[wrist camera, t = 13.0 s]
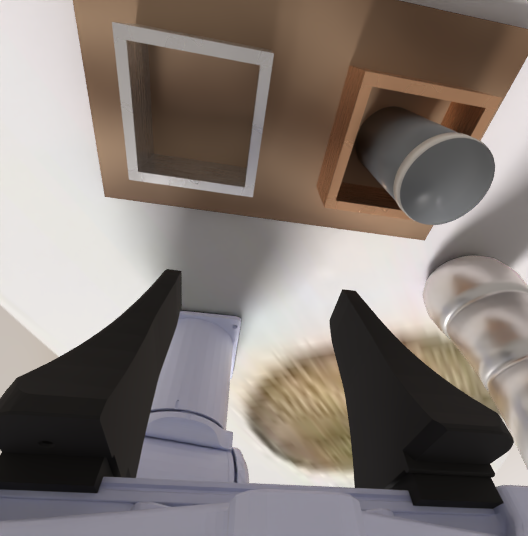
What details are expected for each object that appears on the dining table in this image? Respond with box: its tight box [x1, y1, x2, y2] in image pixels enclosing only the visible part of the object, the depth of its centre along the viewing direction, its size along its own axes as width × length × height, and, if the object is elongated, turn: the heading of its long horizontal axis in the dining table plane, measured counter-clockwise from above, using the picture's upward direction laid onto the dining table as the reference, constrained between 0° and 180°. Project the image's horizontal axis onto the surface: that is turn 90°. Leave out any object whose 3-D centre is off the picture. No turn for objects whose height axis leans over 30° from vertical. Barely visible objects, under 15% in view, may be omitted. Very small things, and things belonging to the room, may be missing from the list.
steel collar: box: [112, 22, 274, 197], centre depth 16 cm, size 6×6×3 cm
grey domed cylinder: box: [356, 106, 495, 225], centre depth 15 cm, size 4×4×7 cm
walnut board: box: [73, 0, 528, 240], centre depth 18 cm, size 12×22×1 cm, turn 81°
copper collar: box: [316, 65, 502, 220], centre depth 17 cm, size 6×6×3 cm
